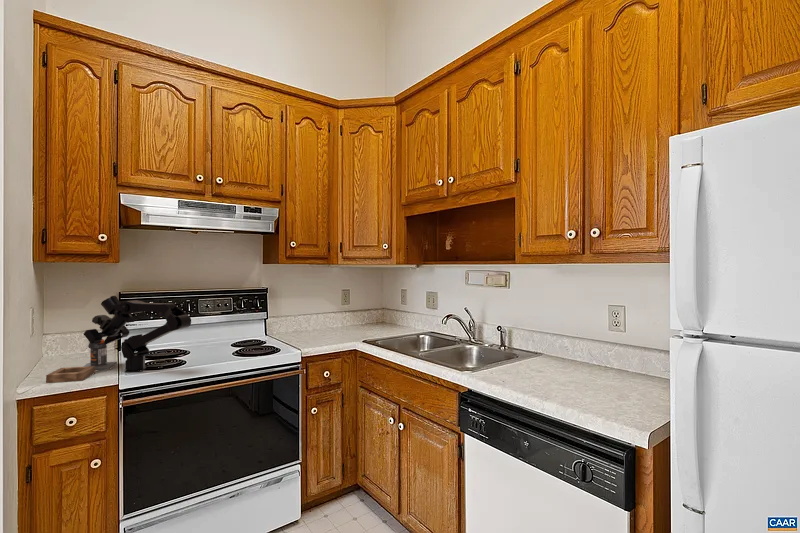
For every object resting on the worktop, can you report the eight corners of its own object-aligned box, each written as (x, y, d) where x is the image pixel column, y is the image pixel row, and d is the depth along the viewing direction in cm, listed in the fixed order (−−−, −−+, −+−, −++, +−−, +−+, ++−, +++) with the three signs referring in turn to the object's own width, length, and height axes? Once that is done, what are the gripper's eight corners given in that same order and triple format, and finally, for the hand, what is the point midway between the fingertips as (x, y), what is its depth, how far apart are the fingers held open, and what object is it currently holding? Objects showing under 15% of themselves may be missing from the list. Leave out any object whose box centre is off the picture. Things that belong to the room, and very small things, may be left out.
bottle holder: (94, 373, 175) (94, 366, 175) (82, 380, 163) (82, 373, 163) (60, 375, 171) (60, 367, 171) (46, 382, 160) (46, 375, 160)
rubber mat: (117, 364, 191) (117, 361, 191) (108, 369, 180) (108, 367, 180) (89, 365, 187) (89, 363, 187) (78, 371, 177) (78, 368, 177)
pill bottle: (87, 365, 183) (87, 340, 182) (103, 362, 188) (102, 337, 187) (94, 367, 180) (94, 341, 179) (109, 364, 185) (109, 339, 184)
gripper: (124, 307, 192) (104, 329, 194) (87, 311, 174) (65, 336, 176) (138, 324, 191) (118, 347, 193) (103, 330, 173) (80, 355, 174)
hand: (96, 346), depth 184 cm, fingers open, 7 cm apart
